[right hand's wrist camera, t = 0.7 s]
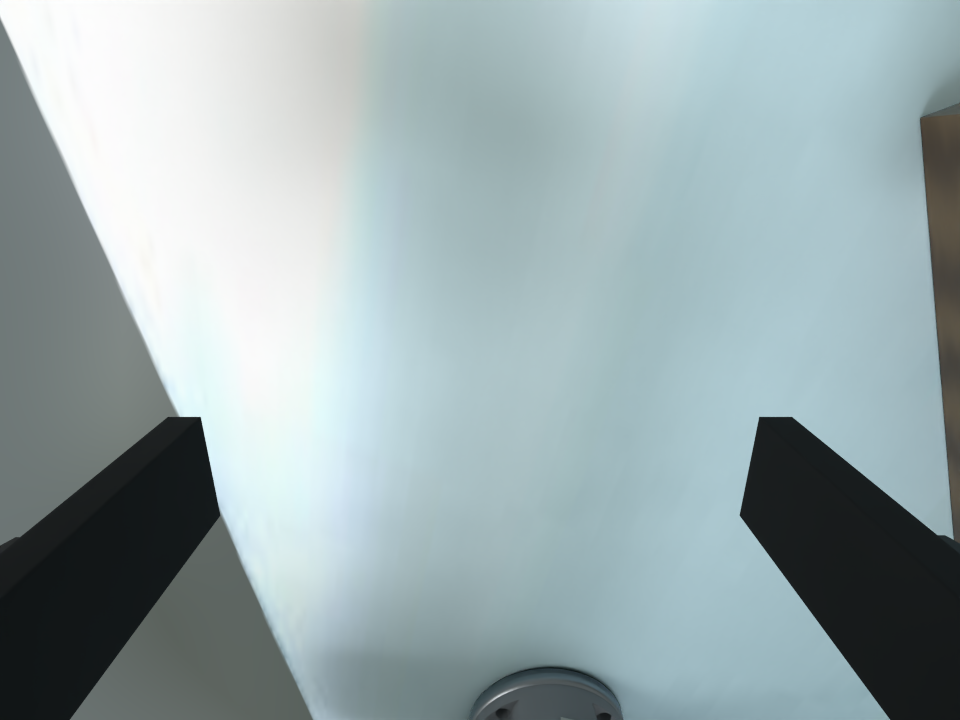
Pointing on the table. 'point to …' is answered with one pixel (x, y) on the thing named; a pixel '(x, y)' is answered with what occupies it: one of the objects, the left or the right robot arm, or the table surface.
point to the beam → (946, 271)
